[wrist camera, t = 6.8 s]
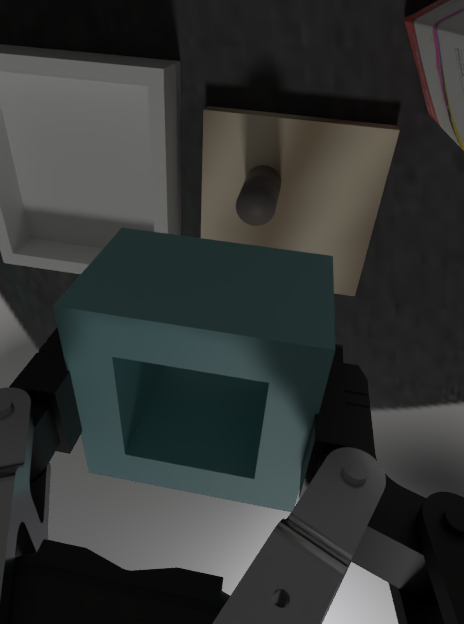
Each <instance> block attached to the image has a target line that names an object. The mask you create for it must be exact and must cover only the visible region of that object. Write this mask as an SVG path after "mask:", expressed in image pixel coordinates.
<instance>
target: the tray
mask: <svg viewBox="0 0 464 624" xmlns="http://www.w3.org/2000/svg"><path fill="white" fill-rule="evenodd" d="M121 228H130V229H137V230H144V231H152V232H159V233H167V234H174V235H181V80H180V61H173V60H163V59H152V58H141V57H131V56H120V55H109V54H99V53H88V52H77V51H66V50H56V49H45V48H34V47H24V46H13V45H2V44H0V251H1V254H2V258H3V262H4V263H8V264H15V265H22V266H29V267H36V268H42V269H49V270H56V271H63V272H70V273H77V274H81V273H82V272H83V271H84V270H85V269H86V268H87V267H88V265H89V264H90V263H91V262H92V261H93V260H94V259H95V258H96V256H97V255H98V254H99V253H100V252H101V251H102V250H103V248H104V247H105V246H106V245H107V244H108V243H109V242H110V240H111V239H112V238H113V237H114V236H115V235H116V234H117V233H118V231H119V230H120V229H121Z"/></svg>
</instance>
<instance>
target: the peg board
mask: <svg viewBox="0 0 464 624" xmlns="http://www.w3.org/2000/svg"><path fill="white" fill-rule="evenodd" d="M399 131H400V130H399V128H398V126H397V125H387V124H378V123H368V122H358V121H349V120H339V119H329V118H320V117H310V116H300V115H291V114H281V113H271V112H262V111H252V110H242V109H233V108H223V107H213V106H207V107H206V108H205V109H204V117H203V162H202V207H201V238H204V239H211V240H218V241H226V242H233V243H241V244H248V245H256V246H263V247H270V248H278V249H285V250H293V251H300V252H307V253H315V254H322V255H330V256H333V276H334V293H336V294H343V295H350V296H355V293H356V290H357V286H358V282H359V279H360V275H361V271H362V268H363V264H364V260H365V256H366V253H367V249H368V245H369V242H370V238H371V234H372V231H373V227H374V223H375V219H376V216H377V212H378V208H379V205H380V201H381V197H382V194H383V190H384V186H385V182H386V179H387V175H388V171H389V168H390V164H391V160H392V157H393V153H394V149H395V146H396V142H397V138H398V134H399Z"/></svg>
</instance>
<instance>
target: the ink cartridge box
mask: <svg viewBox="0 0 464 624" xmlns="http://www.w3.org/2000/svg"><path fill="white" fill-rule="evenodd" d="M404 22H405V26H406V29H407V33H408V36H409V40H410V44H411V48H412V52H413V56H414V59H415V63H416V67H417V71H418V75H419V79H420V83H421V87H422V91H423V95H424V98H425V103H426V107H427V110H428V113H429V115H430V116H431V117H432V118H433V119H434V120H435V121H436V122H437V123H438V124H439V125H440V126H441V127H442V129H443V130H444V131H445V132H446V133H447V134H448V135H449V136H450V137H451V138H452V139H453V140H454V141H455V142H456V144H458V145H459V146H460V147H461V149H462V150H463V151H464V0H437V1H436V2H434V3H432V4H430V5H428V6H427V7H425V8H423V9H421V10H419V11H418V12H416V13H414V14H413V15H410V16H407V17H405V19H404Z"/></svg>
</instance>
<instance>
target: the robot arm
mask: <svg viewBox="0 0 464 624" xmlns="http://www.w3.org/2000/svg"><path fill="white" fill-rule="evenodd" d="M368 396H369V391H368V382H367V378H366V377H365V375H364V374H363V372H362V370H361V369H360V367H359V366H358V365H352V364H346V363H343V347H342V345H340V344H335V353H334V357H333V361H332V365H331V369H330V373H329V376H328V380H327V384H326V388H325V392H324V396H323V399H322V403H321V407H320V411H319V414H315V417H314V421H313V425H312V429H311V433H310V437H309V441H308V445H307V449H306V453H305V457H304V460H303V464H302V468H301V475H300V494H299V498H300V500H299V501H298V503H297V504H296V506H295V507H294V509H293V511H292V512H291V514H290V515H289V516H288V518H287V519H282V520H281V521H280V522H279V523H278V525H277V526H276V527H275V529H274V530H273V532H272V533H271V535H270V536H269V538H268V539H267V541H266V542H265V544H264V546H263V547H262V549H261V550H260V552H259V553H258V555H257V556H256V558H255V560H254V561H253V562H252V564H251V566H250V567H249V569H248V570H247V571H246V573H245V575H244V576H243V578H242V579H241V581H240V582H239V584H238V585H237V587H236V588H235V590H234V591H233V593H232V595H231V596H230V595H228V594H226V593H224V592H223V591H222V583H223V577H219V576H214V575H209V574H205V573H200V572H195V571H190V570H186V569H181V568H166V569H150V570H135V571H128V570H125V569H122V568H121V567H119V566H117V565H115V564H113V563H112V562H110V561H108V560H106V559H105V558H103V557H101V556H99V555H98V554H96V553H94V552H92V551H90V550H88V549H87V548H83V547H79V546H74V545H69V544H64V543H60V542H55V541H51V540H48V513H49V493H50V473H51V467H50V463H49V461H50V459H51V458H52V456H53V454H54V453H55V451H59V452H64V453H69V454H70V453H71V451H72V449H73V447H74V445H75V444H76V442H77V440H78V438H79V436H80V435H81V433H82V426H81V422H80V417H79V412H78V407H77V403H76V398H75V393H74V388H73V384H72V379H71V374H70V371H67V368H66V364H65V359H64V355H63V350H62V345H61V341H60V336H59V332H58V328H57V329H56V330H55V331H54V332H53V333H52V335H51V336H50V337H49V338H48V340H47V343H44V345H43V346H42V347H41V348H40V349H39V353H36V354H35V356H34V357H33V358H32V359H31V361H30V362H29V363H28V364H27V366H26V367H25V368H24V369H23V371H22V372H21V373H20V374H19V375H18V377H17V378H16V379H15V380H14V382H13V383H12V384H11V385H10V387H9V388H1V389H0V624H322V622H323V620H324V618H325V616H326V614H327V611H328V610H329V607H330V605H331V603H332V601H333V599H334V597H335V595H336V592H337V590H338V588H339V586H340V584H341V582H342V580H343V578H344V576H345V574H346V572H347V569H348V567H349V565H350V563H351V562H353V563H355V564H357V565H359V566H360V567H362V568H364V569H366V570H367V571H369V572H371V573H373V574H374V575H376V576H378V577H380V578H382V579H383V580H385V581H387V582H389V586H390V590H391V594H392V598H393V602H394V606H395V611H396V615H397V619H398V623H399V624H464V497H461V496H459V495H457V494H453V493H449V492H437V493H434V494H432V495H430V496H429V497H428V498H427V499H426V498H424V497H422V496H420V495H418V494H416V493H414V492H411V491H410V490H407V489H405V488H404V487H402V486H400V485H398V484H397V483H395V482H394V481H393V480H391V479H390V478H389V477H388V476H387V475H386V474H385V473H384V471H383V469H382V467H381V465H380V464H379V463H378V462H377V459H376V455H375V448H374V438H373V429H372V420H371V410H370V401H369V397H368Z"/></svg>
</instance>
